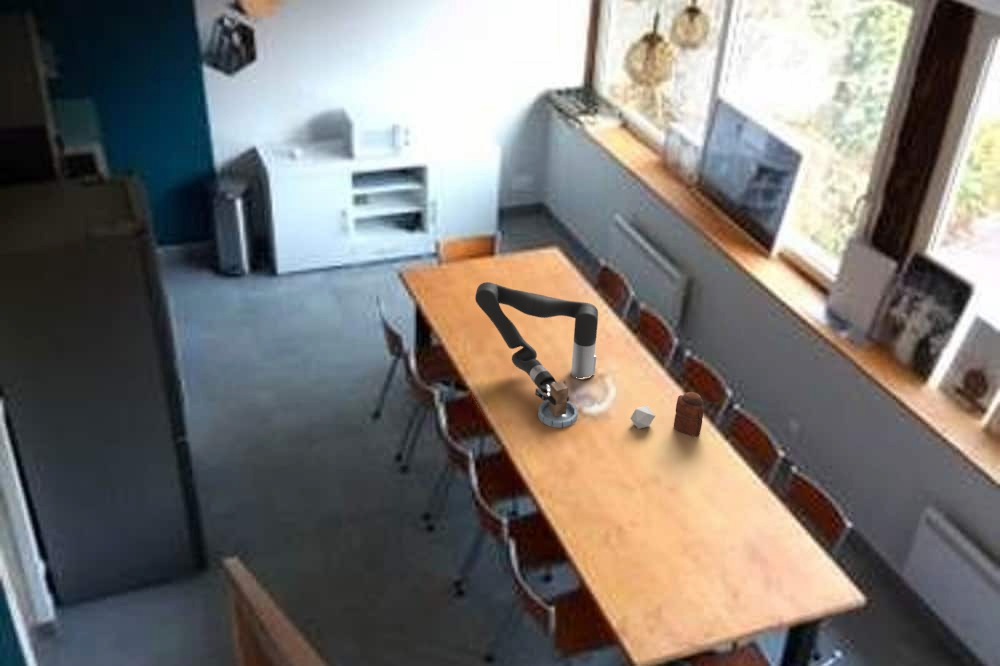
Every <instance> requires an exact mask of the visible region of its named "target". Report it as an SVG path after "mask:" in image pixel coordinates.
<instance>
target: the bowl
mask: <svg viewBox="0 0 1000 666" xmlns="http://www.w3.org/2000/svg"><path fill="white" fill-rule="evenodd" d="M549 404H550V401H548V400H546V401H543V402H542V403H541V404H540V405H539V406H538V413H537V414H538V415H537V417H538V419H539V420H540V421H541V424H544V425H546V426H549V427H550V428H551V427H552V428H558V429H560V428H561V429H562V428H567V427H570V426H572V425H574V423H576V422H577V420H578V407H577V406H576V405H575V404H574V403H572V401H570V400H569V401H568V402H567V406H566V414H563V415H560V416H556V417H555V416H554V415H553V414H552V413H551V411H550V410H549Z"/></svg>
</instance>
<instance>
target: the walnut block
mask: <svg viewBox="0 0 1000 666" xmlns="http://www.w3.org/2000/svg"><path fill="white" fill-rule="evenodd" d="M568 389H569V387H568V385H567V386H566V385H565V384H564V383H563V381H562V380H561V381H556V383H552V384H551V390H550V394H551V396H553V398H554V399H555V400H556V405H554V404H552V403H551V402H550V404H549V410H550V411H551V413H552V414H553V415H554V416H555V417H556V416H560V415H563V414H566V406H567V394H568V395H569V390H568Z"/></svg>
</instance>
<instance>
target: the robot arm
mask: <svg viewBox="0 0 1000 666" xmlns="http://www.w3.org/2000/svg"><path fill="white" fill-rule="evenodd" d="M474 297H475V303H476V305H477V306H478V307H479V308H480V309H481V310H482V311H483V313H484V314H485V315H486V316H487V317H488V318H489V320H490V321H491V322H492V323H493V325H494V326H495V327H496V329H497V331H498V332H499V334H500V335H501V337H502V339H503V340H504V342H505V344H506V345H507V347H508V348H509V349H510V350H511V349H512V350H514V349H517V348H520V347H522V348H520V349H519V350H517V351H516V352H514V353H513V354H512V355H511V361H512V363H513V365H514V366H515V367H516V368H517V369H519V370H521V371H523V372H524V373H526V374H527V376H529V378H530V379H531V380H532V382H533V383H534V385H535V386H536V387H537V388H535V391H534V393H535V394H534V395H535V396H536V397H538V398H540V399H541V400H542V401H543V402H544V401H546V400H548V401H550V402H551V403H552V404H554V405H556V400H555V399H554V398H553V396H551V394H550V390H551V384H552V383H556V382H557V381H556V379H555V378H554V376H553V375H552V374H551V373H550V371H549V370H548V369H547V368H546V367H545V366H543V365H542V363H541V362H540V361H539V360H538V359H537V357H538V355H537V351H536V350H535V348H534V347H532V346H531V344H529V343H528V342H527V341H526V340H525V339H524V338H523V336H522V335H521V333H520V331H519V330H518V328H517V327H516V325H515V324H514V323H513V321H512V320H510V319H509V318H508V317H507V315H506V314H505V313H504V312H503V309H502V307H501V305H505V306H509V307H512V308H513V309H515V310H517V311H519V312H520V313H522V314H524V315H527V316H532V317H536V318H541V319H546V318H553V317H559V316H560V317H561V316H563V317H570V318H573V319H575V320H574V330H573V331H574V333H573V342H572V343H573V344H572V358H571V370H570V371H571V372H570V373H571V376H572V377H573V378H574V377H575V378H574V379H576V377H577V378H583V377H589V376H591V375H593V374H595V375H596V365H597V356H596V355H595V353H596V341H597V335H598V324H599V323H598V320H599V310H598V308H597V307H596V306H595V305H593V303H588V302H584V301H573V300H565V299H563V298H562V299H560V298H556V297H552V296H547V295H543V294H540V293H539V294H538V293H533V292H529V291H528V292H527V291H524V290H519V289H513V288H509V287H506V286H503V285H500V284H497V283H494V282H490V281H489V282H488V281H486V282H483V283H481V284H479V285H478V287H477V289H476V293H475V296H474ZM500 304H501V305H500ZM593 376H594V375H593ZM563 383H564V384H565V385H566V386H567V387H568V385H567V382H566V381H565V380H564V381H563ZM569 390H570V389H569V388H568V391H569ZM568 401H570V396H569V393H568V394H567V402H568Z"/></svg>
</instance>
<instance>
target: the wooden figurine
mask: <svg viewBox="0 0 1000 666" xmlns="http://www.w3.org/2000/svg"><path fill="white" fill-rule="evenodd" d="M676 400H677V401H676V404H675V405H676V406H675V414H674V420H673V421H674V422H673V427H674V429H675V430H676V431H678V432H681V433H684V434H687V435H688V436H693V437H700V436H701V430H702V426H703V418H704V412H705V408H704V405H703V404H704V400H703V399H702V397H701V395H700V394H699V393H697V392H695V391H694V392H693V391H692V392H691V391H687V392H686V393H683V394H681V395H678V396H677V399H676Z"/></svg>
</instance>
